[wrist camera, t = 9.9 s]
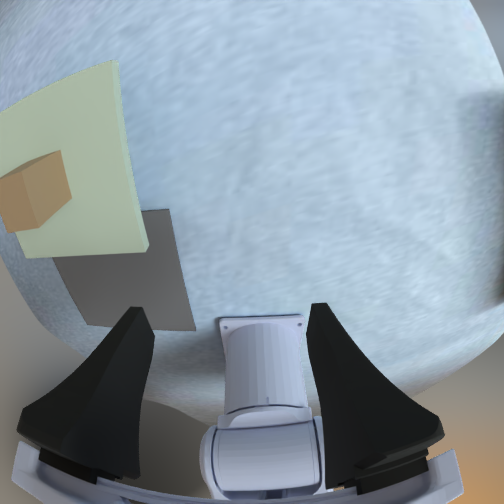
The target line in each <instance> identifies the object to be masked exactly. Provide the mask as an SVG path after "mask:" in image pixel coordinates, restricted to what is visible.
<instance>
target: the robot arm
mask: <svg viewBox="0 0 504 504" xmlns="http://www.w3.org/2000/svg"><path fill="white" fill-rule="evenodd" d="M304 325H305V317H304V316H303V315H293V316H274V317H248V318H222V319H220V320H219V326H220V332H221V338H222V343H223V349H224V354H225V360H226V376H225V405H224V415H219V416H218V425H214V426H211V427H210V428H209V430H208V431H207V432H206V433H205V434H204V436H203V438H202V442H201V446H200V468H201V473H202V476H203V479H204V481H205V482H206V484H207V485H208V488H209V490H210V493H211V497H212V499H204V498H193V497H185V496H177V495H171V494H165V493H159V492H154V491H149V490H144V489H140V488H136V487H132V486H128V485H124V484H121V483H117V482H114V480H115V478H117V479H120V480H122V477H127V478H130V479H137V478H139V477H140V467H139V421H140V409H141V402H142V397H143V392H144V388H145V384H146V380H147V376H148V372H149V368H150V364H151V360H152V355H153V348H154V340H155V335H154V333H153V331H152V328H151V326H150V324H149V321H148V319H147V317H146V314H145V312H144V309H143V307H132V306H130V307H129V309H128V310H127V311H126V312H125V313H124V315H123V316H122V317H121V318H120V320H119V321H118V322H117V323H116V325H115V326H114V327H113V328H112V330H111V331H110V332H109V333H108V334H107V336H106V337H105V338H104V339H103V341H102V342H101V343H100V344H99V345H98V347H97V348H96V349H95V350H94V351H93V352H92V353H91V355H90V356H89V357H88V358H87V359H86V360H85V361H84V362H83V363H82V364H81V365H80V366H79V367H78V368H77V369H76V370H75V371H74V372H73V373H72V374H71V375H70V376H69V377H67V378H66V379H65V380H64V381H63V382H62V383H60V384H59V385H58V386H57V387H55V388H54V389H53V390H51V391H50V392H49V393H47V394H46V395H44V396H43V397H41V398H40V399H38V400H37V401H35V402H33V403H32V404H30V405H28V406H26V407H25V408H23V410H22V413H21V416H20V420H19V423H18V426H17V432H18V433H19V434H21V435H22V436H23V437H25V438H27V439H28V440H30V441H32V442H33V443H35V444H36V445H38V446H40V447H41V450H40V451H38V450H36V449H35V448H33V447H31V446H29V445H27V444H25V443H24V442H22V441H19V445H18V449H17V453H16V457H15V462H14V467H13V472H12V478H11V480H12V481H13V482H14V483H16V484H17V485H19V486H20V487H22V488H23V489H24V490H26V491H27V492H29V493H30V494H32V495H33V496H35V497H36V498H37V499H39V500H40V501H41V502H43V503H44V504H132V503H130V502H129V500H128V499H132V500H136V501H140V502H145V503H149V504H447V503H448V502H450V501H451V500H453V499H455V498H456V497H458V496H460V495H461V494H463V492H464V490H463V484H462V479H461V475H460V471H459V466H458V463H457V459H456V455H455V451H454V449H451V450H449V451H447V452H445V453H443V454H441V455H439V456H436V457H434V458H433V459H430V460H428V461H427V460H426V456H427V455H428V454H429V453H428V449H427V448H428V447H430V446H431V445H433V444H435V443H436V442H438V441H439V440H441V439H442V438H443V437H444V436H445V434H444V430H443V427H442V423H441V421H440V419H439V417H438V416H437V415H435V414H433V413H432V412H430V411H428V410H427V409H425V408H424V407H422V406H421V405H419V404H418V403H416V402H415V401H413V400H412V399H411V398H409V397H408V396H407V395H406V394H405V393H403V392H402V391H401V390H400V389H398V388H397V387H396V386H395V385H394V384H392V383H391V382H390V381H389V380H388V379H387V378H386V377H385V376H384V375H383V374H382V373H381V372H380V371H379V370H378V369H377V368H376V367H375V366H374V365H373V364H372V363H371V362H370V360H369V359H368V358H367V357H366V356H365V355H364V354H363V352H362V351H361V350H360V349H359V347H358V346H357V345H356V344H355V342H354V341H353V340H352V338H351V337H350V336H349V335H348V333H347V332H346V331H345V329H344V328H343V326H342V325H341V323H340V322H339V321H338V319H337V318H336V316H335V315H334V313H333V312H332V310H331V309H330V307H329V306H328V304H327V303H313V304H312V305H311V311H310V316H309V321H308V327H307V332H306V338H307V346H308V354H309V359H310V363H311V367H312V371H313V375H314V379H315V384H316V388H317V392H318V396H319V401H320V407H321V416H322V417H321V416H315V417H313V420H312V413H311V408H310V407H308V402H307V396H306V389H305V383H304V376H303V370H302V364H301V358H300V346H301V341H302V336H303V330H304ZM343 486H344V488H345V489H342V490H337V491H333V488H338V487H343ZM127 498H128V499H127Z"/></svg>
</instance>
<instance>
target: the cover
mask: <svg viewBox="0 0 504 504" xmlns="http://www.w3.org/2000/svg"><path fill="white" fill-rule="evenodd" d="M0 214H1V217H2V219H3V222H4V225H5V227H6V230H7V232H8V233H12V232H15V233H16V236H17V238H18V241H19V243H20V245H21V248H22V250H23V252H24V254H25V257H26V259H28V258H45V257H63V256H82V255H101V254H120V253H140V252H146V250H147V248H148V246H149V242H148V238H147V234H146V230H145V226H144V222H143V218H142V214H141V210H140V205H139V201H138V196H137V192H136V187H135V182H134V177H133V172H132V167H131V161H130V156H129V150H128V144H127V137H126V130H125V123H124V116H123V108H122V99H121V89H120V77H119V62H118V61H116V60H110V61H107V62H104V63H101V64H98V65H95V66H92V67H90V68H87V69H85V70H82V71H79V72H77V73H75V74H72V75H70V76H67V77H65V78H63V79H61V80H58V81H56V82H54V83H52V84H50V85H48V86H46V87H44V88H42V89H40V90H38V91H36V92H34V93H32V94H31V95H29V96H27V97H25V98H23V99H22V100H20V101H18V102H17V103H15V104H13V105H12V106H10V107H8V108H7V109H5V110H4V111H2V112H1V113H0Z"/></svg>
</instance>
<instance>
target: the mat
mask: <svg viewBox="0 0 504 504" xmlns="http://www.w3.org/2000/svg"><path fill="white" fill-rule="evenodd" d="M141 214H142V218H143V222H144V226H145V230H146V234H147V238H148V242H149V246H148V248H147V250H146V252H140V253H120V254H101V255H82V256H63V257H52V258H53V260H54V262H55V265H56V267H57V269H58V271H59V273H60V275H61V277H62V279H63V281H64V283H65V285H66V287H67V289H68V291H69V293H70V295H71V297H72V299H73V301H74V302H75V304H76V306H77V308H78V310H79V311H80V313H81V315H82V316H83V318H84V320H85V322H86V323H87V325H93V326H104V327H114V326H115V325H116V323H117V322H118V321H119V320H120V318H121V317H122V316H123V315H124V313H125V312H126V311H127V310H128V309H129V307H130V306H132V307H143V309H144V312H145V314H146V317H147V319H148V321H149V324H150V326H151V328H152V330H169V331H196V327H195V323H194V320H193V316H192V312H191V308H190V304H189V300H188V296H187V292H186V288H185V283H184V279H183V275H182V270H181V266H180V261H179V257H178V252H177V247H176V242H175V237H174V232H173V227H172V222H171V216H170V211H169V209H161V210H148V211H141Z"/></svg>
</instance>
